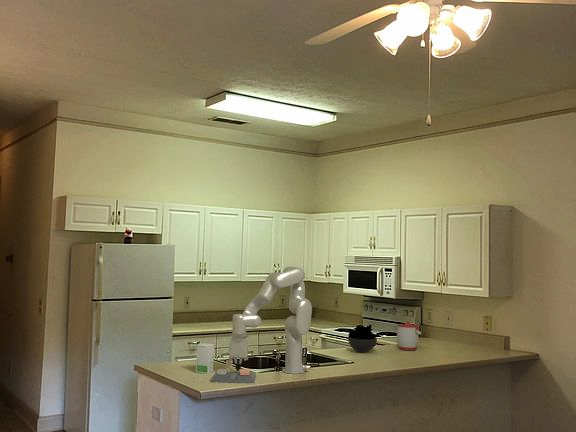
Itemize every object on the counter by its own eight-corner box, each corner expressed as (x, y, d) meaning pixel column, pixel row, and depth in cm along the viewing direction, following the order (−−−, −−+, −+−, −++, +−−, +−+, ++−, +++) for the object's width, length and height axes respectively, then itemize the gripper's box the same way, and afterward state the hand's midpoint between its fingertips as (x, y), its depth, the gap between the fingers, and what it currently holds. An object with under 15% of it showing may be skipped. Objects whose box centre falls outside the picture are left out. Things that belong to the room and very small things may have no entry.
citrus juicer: (416, 352, 424) (416, 323, 425) (392, 349, 433) (393, 321, 434) (424, 349, 437) (424, 321, 438) (401, 347, 446) (401, 319, 447)
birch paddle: (232, 371, 335) (232, 360, 336) (232, 372, 332) (232, 361, 333) (226, 371, 335) (226, 359, 336) (225, 372, 332) (225, 360, 333)
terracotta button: (250, 373, 325) (250, 369, 325) (249, 375, 320) (249, 371, 320) (240, 373, 325) (240, 369, 325) (239, 375, 320) (240, 371, 320)
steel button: (227, 372, 325) (227, 368, 325) (226, 374, 320) (226, 370, 320) (218, 372, 325) (218, 368, 325) (217, 374, 320) (217, 370, 320)
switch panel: (255, 375, 337) (255, 369, 337) (253, 383, 318) (254, 376, 318) (215, 374, 337) (216, 368, 337) (211, 382, 318) (211, 375, 318)
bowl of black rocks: (349, 354, 410) (349, 326, 411) (346, 349, 430) (346, 322, 431) (378, 355, 410) (379, 326, 411) (374, 350, 430) (374, 323, 431)
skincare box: (195, 372, 342) (196, 344, 343) (201, 370, 348) (201, 342, 349) (208, 373, 339) (209, 345, 340) (214, 371, 345) (214, 343, 346)
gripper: (252, 336, 339) (252, 369, 338) (225, 335, 339) (225, 369, 338) (252, 338, 331) (251, 372, 330) (224, 337, 331) (223, 371, 330)
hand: (238, 370), depth 334 cm, fingers closed
